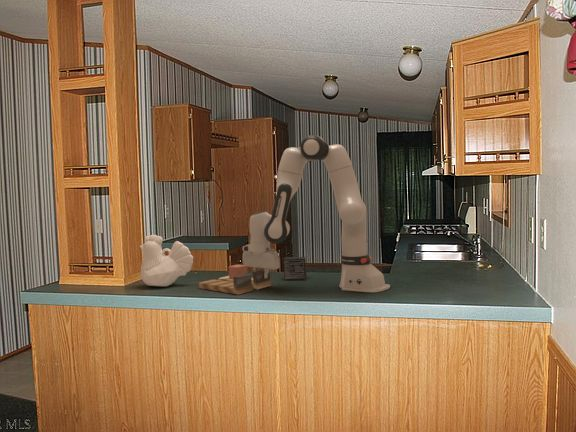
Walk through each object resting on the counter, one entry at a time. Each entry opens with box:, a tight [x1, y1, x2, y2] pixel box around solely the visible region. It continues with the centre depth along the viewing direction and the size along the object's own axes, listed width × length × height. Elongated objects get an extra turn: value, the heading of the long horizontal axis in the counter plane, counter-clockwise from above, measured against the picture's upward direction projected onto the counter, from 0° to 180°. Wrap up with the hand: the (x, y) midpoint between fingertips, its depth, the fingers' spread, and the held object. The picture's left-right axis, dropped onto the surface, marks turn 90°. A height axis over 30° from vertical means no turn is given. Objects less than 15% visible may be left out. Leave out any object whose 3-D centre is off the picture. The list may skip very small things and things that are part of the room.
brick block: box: [228, 264, 248, 279], centre depth 264 cm, size 6×6×6 cm
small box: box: [282, 256, 307, 281], centre depth 271 cm, size 11×6×10 cm, turn 84°
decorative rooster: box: [139, 234, 194, 287], centre depth 266 cm, size 25×16×25 cm, turn 77°
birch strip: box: [217, 269, 272, 290], centre depth 262 cm, size 26×9×8 cm, turn 49°
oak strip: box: [198, 273, 254, 295], centre depth 253 cm, size 26×9×8 cm, turn 49°
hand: (261, 277), depth 254 cm, fingers closed on birch strip, 3 cm apart
